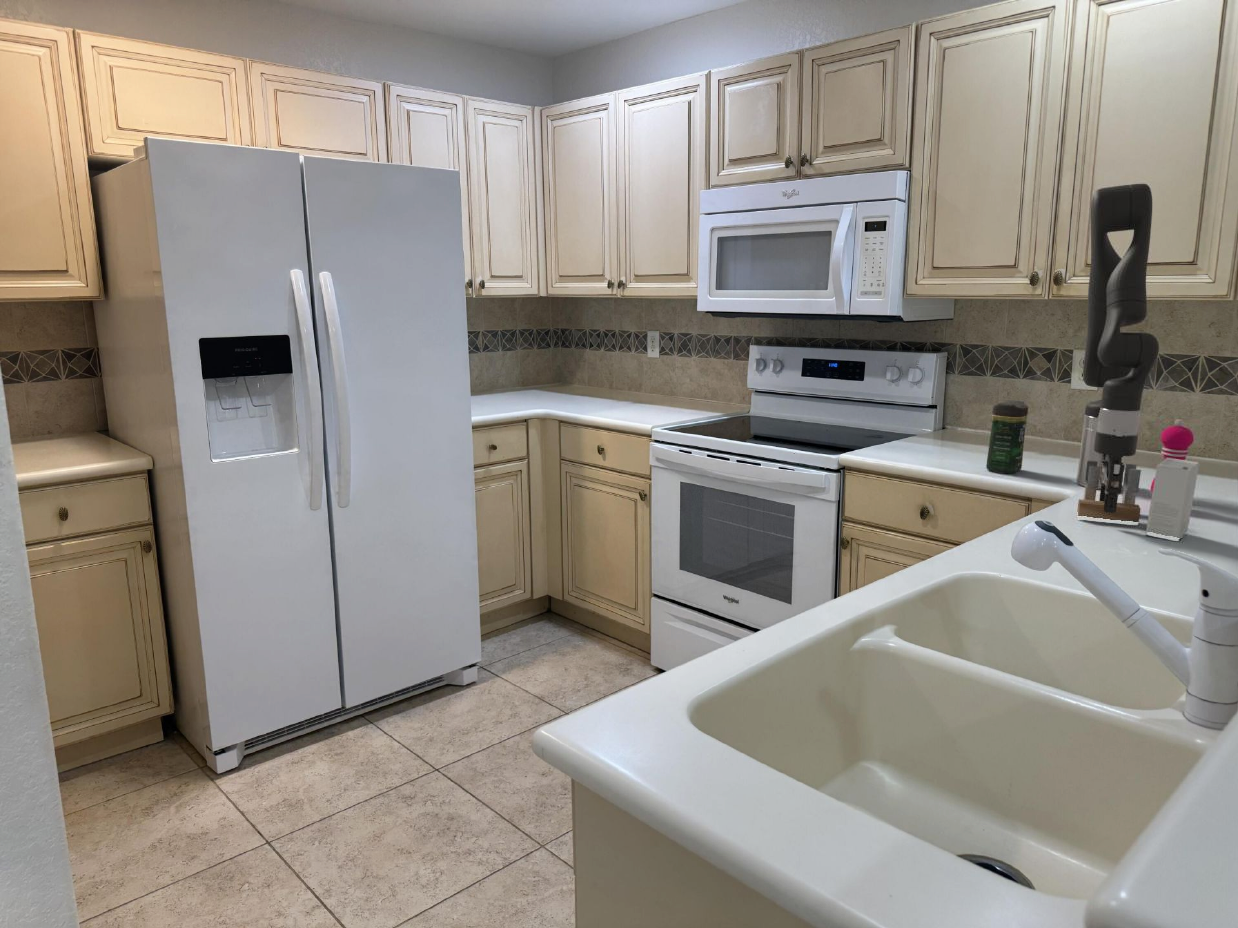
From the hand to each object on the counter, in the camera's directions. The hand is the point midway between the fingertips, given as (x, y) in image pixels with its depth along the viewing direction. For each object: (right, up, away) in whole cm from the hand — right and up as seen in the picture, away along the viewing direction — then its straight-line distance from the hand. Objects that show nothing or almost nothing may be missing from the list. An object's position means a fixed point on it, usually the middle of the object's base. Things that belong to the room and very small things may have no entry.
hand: (1107, 507), depth 180 cm
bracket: (+5, -1, +9) cm, 10 cm away
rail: (0, -3, +1) cm, 3 cm away
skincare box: (+7, -5, -9) cm, 12 cm away
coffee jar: (0, +7, +48) cm, 49 cm away
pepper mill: (+20, -1, +11) cm, 23 cm away
